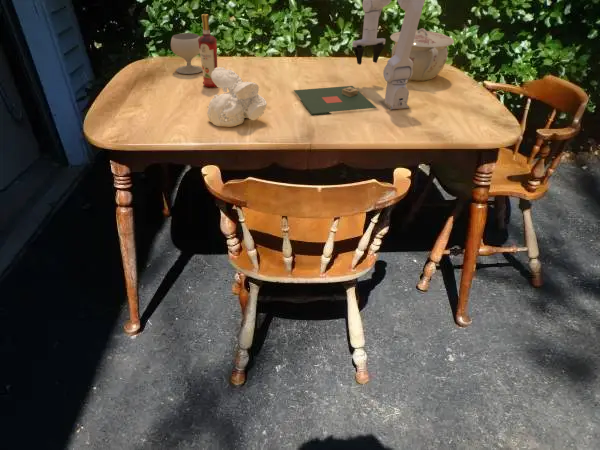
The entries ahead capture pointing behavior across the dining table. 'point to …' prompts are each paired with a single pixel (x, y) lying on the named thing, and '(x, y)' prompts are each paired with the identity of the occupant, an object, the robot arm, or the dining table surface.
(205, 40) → the liquor
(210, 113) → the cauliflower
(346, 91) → the letter tile
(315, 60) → the dining table surface
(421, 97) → the dining table surface
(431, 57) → the chamber pot
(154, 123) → the dining table surface
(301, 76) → the dining table surface
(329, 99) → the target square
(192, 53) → the chalice
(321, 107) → the game board
